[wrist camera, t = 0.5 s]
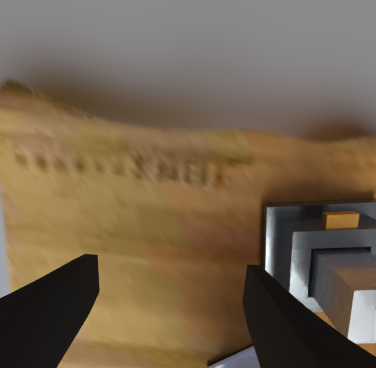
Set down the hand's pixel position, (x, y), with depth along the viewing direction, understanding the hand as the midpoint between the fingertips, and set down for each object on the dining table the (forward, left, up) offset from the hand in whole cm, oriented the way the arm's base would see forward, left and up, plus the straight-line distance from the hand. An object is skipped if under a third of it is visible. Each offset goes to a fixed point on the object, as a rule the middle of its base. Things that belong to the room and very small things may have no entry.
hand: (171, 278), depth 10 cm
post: (-11, -8, -9) cm, 16 cm away
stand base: (-11, -8, -10) cm, 17 cm away
